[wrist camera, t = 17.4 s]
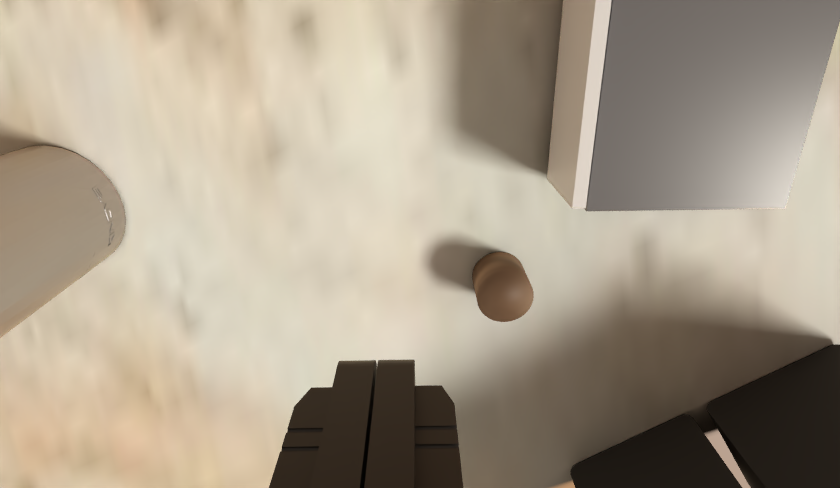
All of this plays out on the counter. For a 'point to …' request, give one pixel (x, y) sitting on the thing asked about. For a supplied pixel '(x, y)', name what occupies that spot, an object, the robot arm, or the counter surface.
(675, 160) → the cylinder
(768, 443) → the speaker
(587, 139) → the drawer
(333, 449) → the robot arm
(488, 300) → the brown rounded cylinder
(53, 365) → the counter surface
